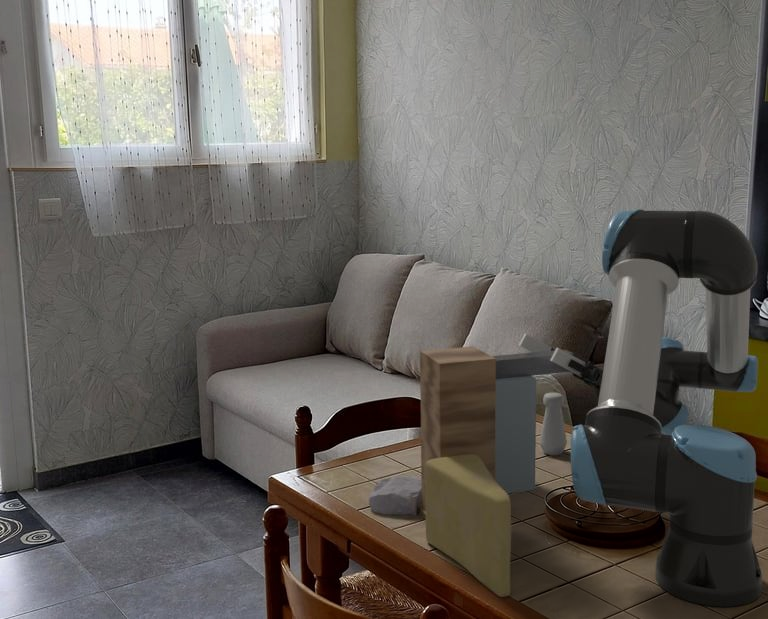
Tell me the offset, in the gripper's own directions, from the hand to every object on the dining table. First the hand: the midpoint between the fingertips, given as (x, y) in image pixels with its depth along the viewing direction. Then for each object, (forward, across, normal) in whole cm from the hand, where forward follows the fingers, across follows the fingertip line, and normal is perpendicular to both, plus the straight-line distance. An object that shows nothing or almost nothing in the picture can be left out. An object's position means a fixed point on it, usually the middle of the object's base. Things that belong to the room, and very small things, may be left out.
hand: (537, 346), depth 173 cm
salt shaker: (-23, +14, -18) cm, 33 cm away
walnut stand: (+5, -12, -34) cm, 36 cm away
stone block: (+11, -1, -38) cm, 40 cm away
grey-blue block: (-6, 0, -28) cm, 29 cm away
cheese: (+8, -30, -36) cm, 47 cm away
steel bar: (+2, 0, -7) cm, 7 cm away
